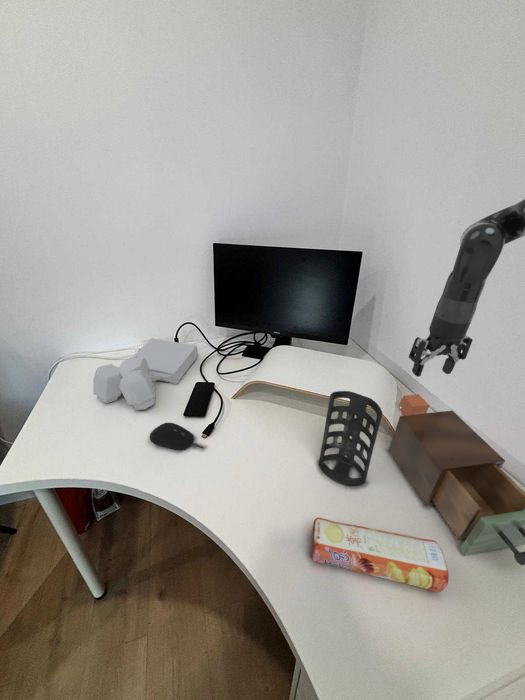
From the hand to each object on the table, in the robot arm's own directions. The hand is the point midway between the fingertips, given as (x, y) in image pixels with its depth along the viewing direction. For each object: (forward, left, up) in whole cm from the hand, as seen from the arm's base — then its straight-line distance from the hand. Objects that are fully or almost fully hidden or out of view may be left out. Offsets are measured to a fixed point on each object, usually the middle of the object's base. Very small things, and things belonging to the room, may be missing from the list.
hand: (431, 373), depth 75 cm
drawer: (+6, +30, -15) cm, 34 cm away
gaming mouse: (+66, -1, -16) cm, 68 cm away
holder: (+27, +13, -16) cm, 34 cm away
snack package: (+30, +32, -16) cm, 46 cm away
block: (-1, -2, -16) cm, 16 cm away
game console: (+77, -30, -16) cm, 84 cm away
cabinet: (+6, +17, -16) cm, 24 cm away
